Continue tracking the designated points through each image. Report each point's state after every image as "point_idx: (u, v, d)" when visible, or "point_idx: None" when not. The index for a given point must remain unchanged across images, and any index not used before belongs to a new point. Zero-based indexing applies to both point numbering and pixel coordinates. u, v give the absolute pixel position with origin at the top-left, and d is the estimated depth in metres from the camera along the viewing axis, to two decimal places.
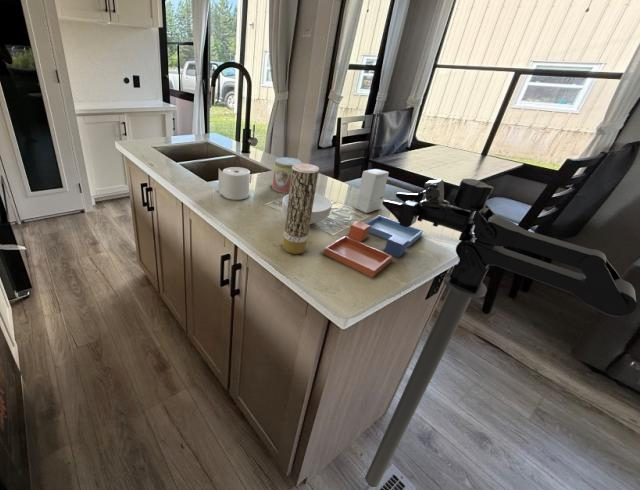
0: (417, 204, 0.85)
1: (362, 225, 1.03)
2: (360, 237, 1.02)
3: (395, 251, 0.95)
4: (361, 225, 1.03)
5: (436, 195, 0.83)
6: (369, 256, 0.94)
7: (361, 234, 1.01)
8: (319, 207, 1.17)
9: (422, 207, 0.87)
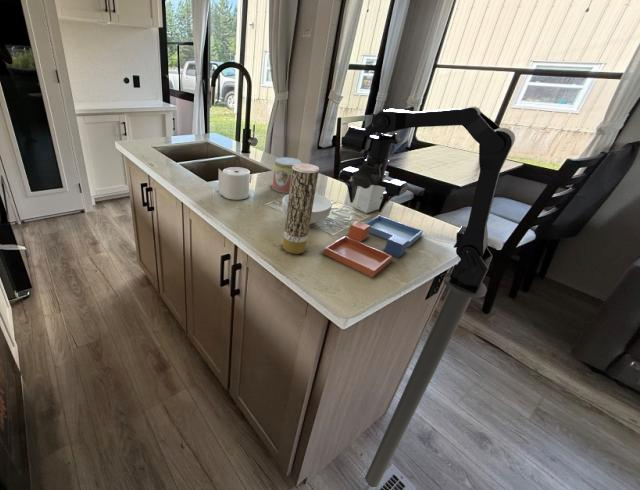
0: (389, 186, 0.90)
1: (362, 225, 1.03)
2: (360, 237, 1.02)
3: (395, 251, 0.95)
4: (361, 225, 1.03)
5: (380, 175, 0.87)
6: (369, 256, 0.94)
7: (361, 234, 1.01)
8: (319, 207, 1.17)
9: None
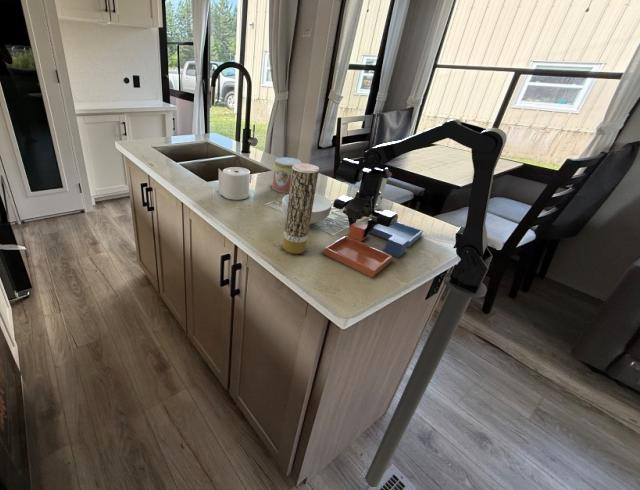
0: (380, 217, 0.94)
1: (362, 225, 1.03)
2: (360, 237, 1.02)
3: (395, 251, 0.95)
4: (361, 225, 1.03)
5: (371, 208, 0.92)
6: (369, 256, 0.94)
7: (361, 234, 1.01)
8: (319, 207, 1.17)
9: None
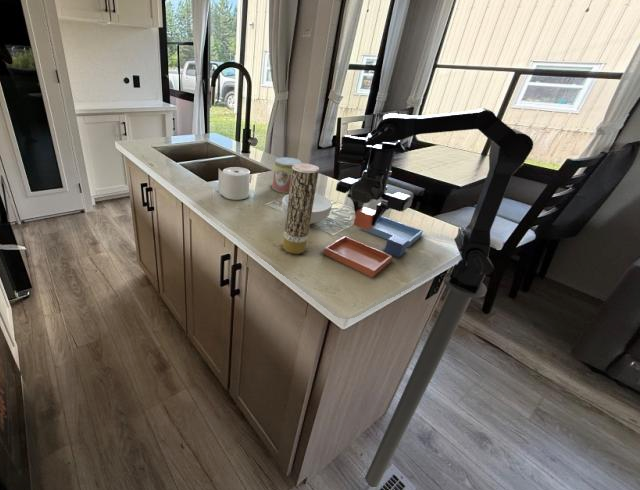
0: (391, 200, 0.80)
1: (370, 211, 0.89)
2: (367, 224, 0.88)
3: (395, 251, 0.95)
4: (368, 211, 0.89)
5: (381, 189, 0.78)
6: (369, 256, 0.94)
7: (369, 221, 0.87)
8: (319, 207, 1.17)
9: None
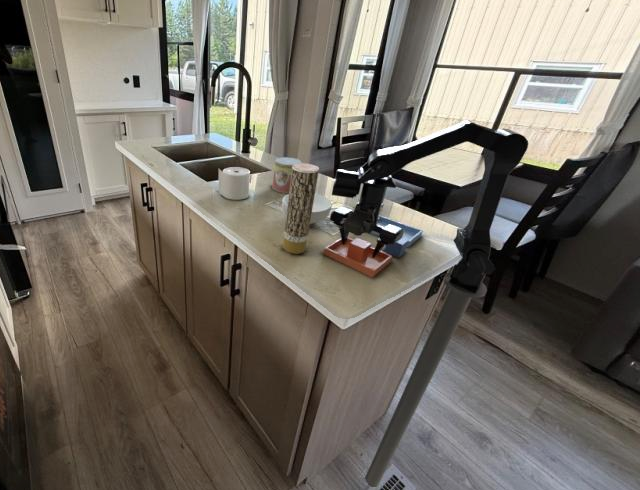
0: (383, 233, 0.83)
1: (363, 243, 0.92)
2: (360, 256, 0.90)
3: (395, 251, 0.95)
4: (361, 243, 0.91)
5: (373, 223, 0.80)
6: (369, 256, 0.94)
7: (361, 254, 0.90)
8: (319, 207, 1.17)
9: None
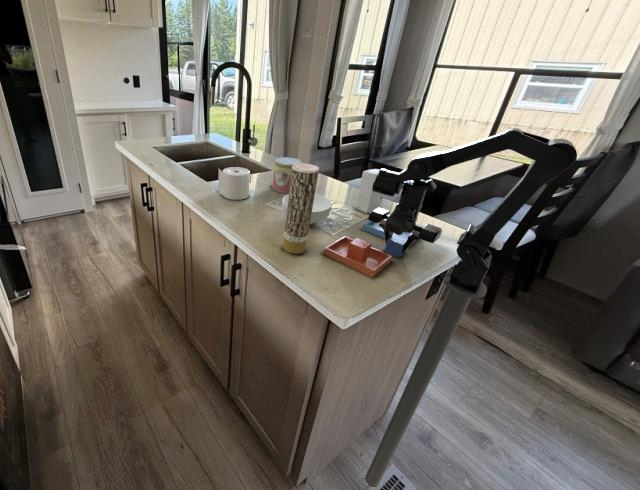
0: (423, 232, 0.87)
1: (363, 243, 0.92)
2: (360, 256, 0.90)
3: (395, 251, 0.95)
4: (361, 243, 0.91)
5: (414, 223, 0.85)
6: (369, 256, 0.94)
7: (361, 254, 0.90)
8: (319, 207, 1.17)
9: None
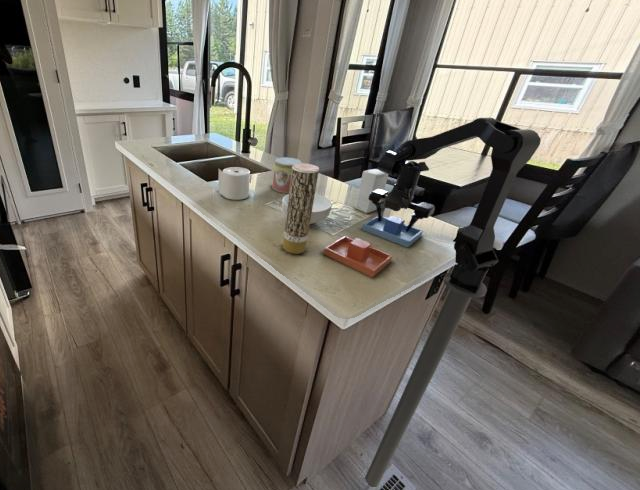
0: (417, 209, 0.97)
1: (363, 243, 0.92)
2: (360, 256, 0.90)
3: (392, 229, 1.06)
4: (361, 243, 0.91)
5: (410, 200, 0.95)
6: (369, 256, 0.94)
7: (361, 254, 0.90)
8: (319, 207, 1.17)
9: None
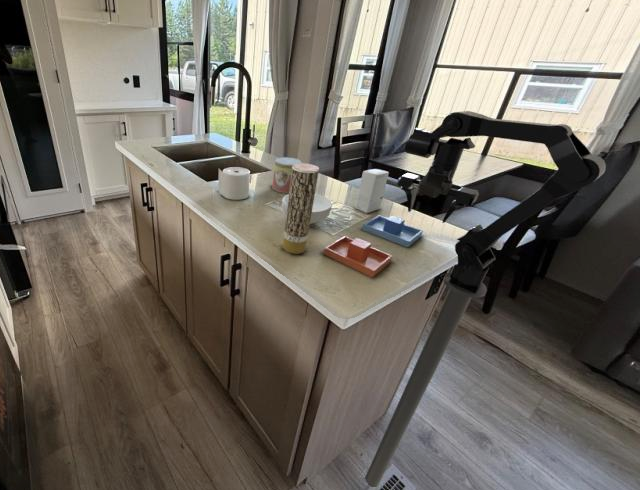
0: (459, 195, 0.82)
1: (363, 243, 0.92)
2: (360, 256, 0.90)
3: (392, 229, 1.06)
4: (361, 243, 0.91)
5: (451, 183, 0.80)
6: (369, 256, 0.94)
7: (361, 254, 0.90)
8: (319, 207, 1.17)
9: None
